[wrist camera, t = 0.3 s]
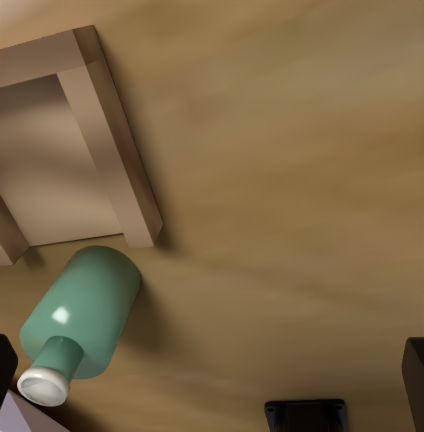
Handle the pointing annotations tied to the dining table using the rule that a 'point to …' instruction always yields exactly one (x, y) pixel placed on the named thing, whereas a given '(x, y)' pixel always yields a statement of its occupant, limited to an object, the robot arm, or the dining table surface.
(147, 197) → the shallow wooden tray
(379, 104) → the dining table surface
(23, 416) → the fruit bowl
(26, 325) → the bottle
